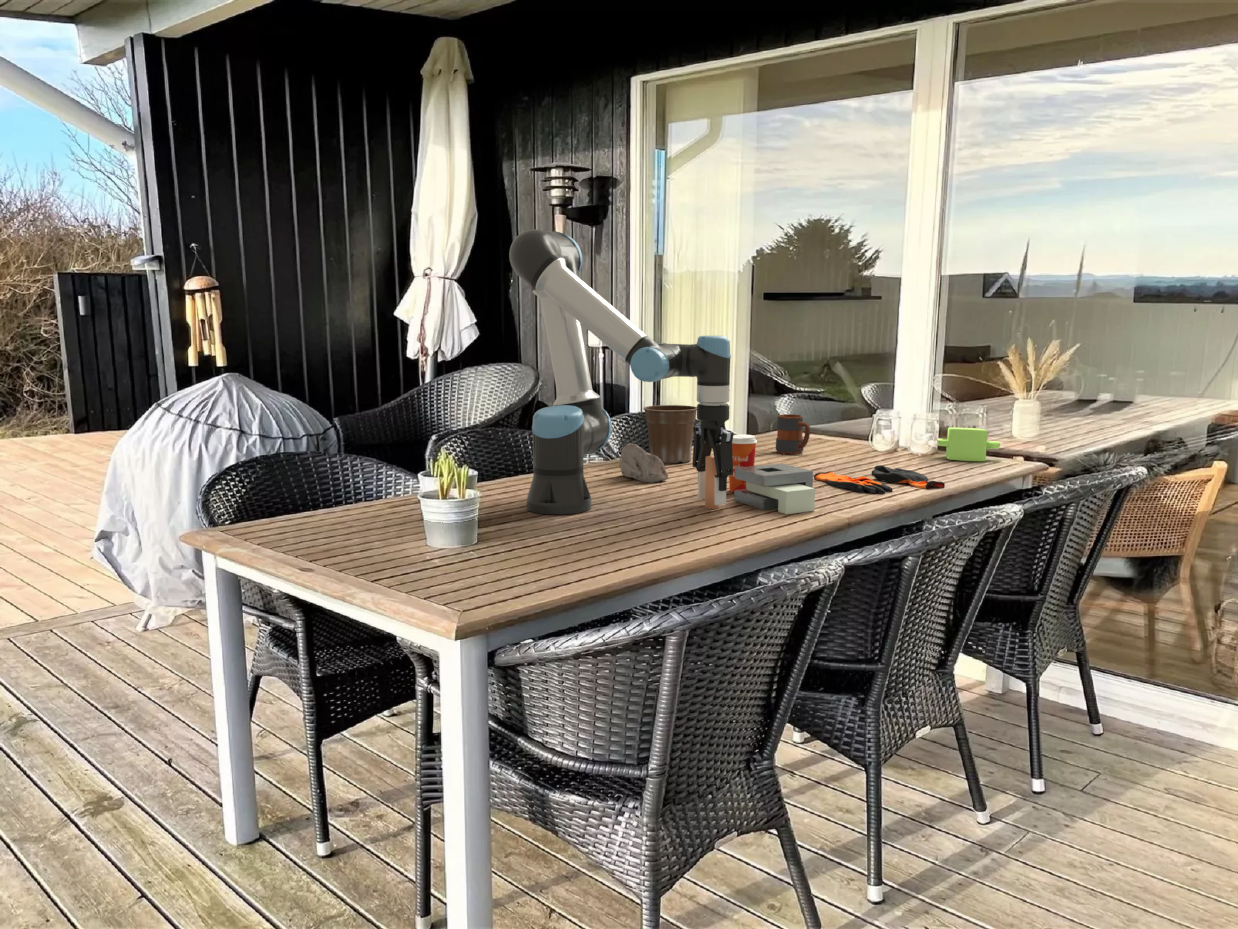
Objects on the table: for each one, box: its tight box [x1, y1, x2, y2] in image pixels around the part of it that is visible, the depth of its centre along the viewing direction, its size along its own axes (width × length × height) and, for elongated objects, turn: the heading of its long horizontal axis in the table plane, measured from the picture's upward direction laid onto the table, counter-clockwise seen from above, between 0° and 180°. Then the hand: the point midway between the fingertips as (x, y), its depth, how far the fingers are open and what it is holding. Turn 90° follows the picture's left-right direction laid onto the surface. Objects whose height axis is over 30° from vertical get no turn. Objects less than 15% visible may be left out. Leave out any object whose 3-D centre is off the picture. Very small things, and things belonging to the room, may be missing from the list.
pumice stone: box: [619, 442, 669, 483], centre depth 266 cm, size 15×8×10 cm, turn 39°
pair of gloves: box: [813, 464, 945, 495], centre depth 260 cm, size 27×24×3 cm
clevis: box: [733, 463, 814, 511], centre depth 236 cm, size 14×12×8 cm
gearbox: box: [936, 427, 1001, 462], centre depth 297 cm, size 18×10×10 cm, turn 76°
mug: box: [775, 413, 811, 456], centre depth 308 cm, size 9×12×12 cm
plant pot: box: [643, 404, 697, 465], centre depth 294 cm, size 16×16×16 cm
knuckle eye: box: [746, 482, 816, 515], centre depth 232 cm, size 8×16×5 cm, turn 27°
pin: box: [704, 455, 720, 510], centre depth 230 cm, size 3×3×12 cm
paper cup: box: [728, 434, 758, 494], centre depth 249 cm, size 8×8×14 cm
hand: (711, 501), depth 231 cm, fingers open, 6 cm apart
